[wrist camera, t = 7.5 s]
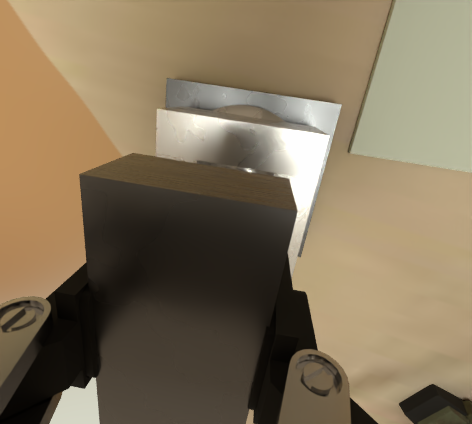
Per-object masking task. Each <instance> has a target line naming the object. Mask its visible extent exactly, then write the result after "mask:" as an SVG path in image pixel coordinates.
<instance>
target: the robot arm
mask: <svg viewBox="0 0 472 424" xmlns="http://www.w3.org/2000/svg"><path fill="white" fill-rule="evenodd" d="M97 376H98V367H97V355H96V342H95V329H94V316H93V303H92V293H89V285H88V273H87V262H86V263H85V264H84V265H83V266H82V267H81V268H80V269H79V270H77V272H75V273H74V274H73V275H72V276H71V277H70V278H69V279H67V280H66V281H65V282H64V283H63V284H62V285H61V286H60V287H58V288H57V289H56V290H55V291H54V292H53V293H52V294H51V295H49V297H47V298H46V299H43V298H41V297H34V296H32V297H21V298H17V299H13V300H10V301H7V302H5V303H2V304H1V305H0V424H49V423H50V421H51V418H52V416H53V414H54V412H55V410H56V407H57V405H58V403H59V401H60V399H61V395H62V392H63V391H64V390H66V389H68V388H69V387H70V386H74V387H79V388H85V387H86V386H87V384H88V383H89V381H90V380H91V378H92V377H94V378H96V377H97ZM248 409H251V410H254V419H253V423H254V424H378V423H377V422H376V421H375V420H374V419H373V418H372V417H370V416H369V415H368V414H367V413H366V412H365V411H364V410H363V409H362V408H361V407H360V406H359V405H358V404H356V403H355V402H354V401H353V400H352V399H351V398H350V390H349V382H348V377H347V375H346V374H345V372H344V370H343V368H342V367H341V366H340V365H339V364H338V363H337V361H335V360H334V359H333V358H331V357H330V356H329V355H327V354H325V353H323V352H321V351H318V349H317V344H316V339H315V334H314V329H313V324H312V319H311V314H310V309H309V304H308V299H307V295H306V293H305V292H303V291H297V290H293V287H292V280H291V272H290V264H289V257H288V253H287V257H286V261H285V265H284V269H283V274H282V278H281V282H280V286H279V290H278V294H277V298H276V302H275V306H274V310H273V314H272V318H271V322H270V327H266V331H265V335H264V339H263V344H262V348H261V352H260V356H259V360H258V364H257V369H256V373H255V377H254V381H253V385H252V389H251V394H250V398H249V402H248Z"/></svg>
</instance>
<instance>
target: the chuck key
mask: <svg viewBox="0 0 472 424" xmlns="http://www.w3.org/2000/svg"><path fill="white" fill-rule="evenodd" d="M80 188H81V200H82V212H83V225H84V236H85V249H86V261H87V273H88V285H89V293H92V303H93V316H94V329H95V342H96V355H97V367H98V376H97V377H96V382H97V395H98V406H99V419H100V424H246V420H247V416H248V412H249V409H248V402H249V398H250V394H251V389H252V385H253V381H254V377H255V373H256V369H257V364H258V360H259V356H260V352H261V348H262V344H263V339H264V335H265V331H266V327H270V322H271V318H272V314H273V310H274V306H275V302H276V298H277V294H278V290H279V286H280V282H281V278H282V274H283V269H284V265H285V261H286V257H287V253H288V249H289V245H290V241H291V237H292V233H293V229H294V225H295V221H296V216H297V212H298V210H297V206H296V203H295V199H294V195H293V191H292V188H291V184H290V180H289V178H283V177H277V176H271V175H264V174H258V173H252V172H246V171H240V170H234V169H228V168H222V167H216V166H210V165H203V164H197V163H191V162H185V161H179V160H173V159H167V158H161V157H155V156H149V155H142V154H136V153H132V154H129V155H127V156H124V157H122V158H119V159H116V160H114V161H111V162H109V163H107V164H104V165H101V166H99V167H96V168H94V169H91V170H89V171H86V172H84V173H81V174H80Z"/></svg>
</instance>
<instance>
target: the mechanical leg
mask: <svg viewBox="0 0 472 424" xmlns="http://www.w3.org/2000/svg"><path fill="white" fill-rule="evenodd" d="M399 406H400V407H401V409H402V410H403V412H404V414H405V415H406V416H407V417H408V418H409V419H410V420H411V421H412V422H413V423H414V424H472V402H471V401H469V400H467V401H462V399H460V398H458V397H456V396H454V395H452V394H450V393H449V392H447V391H445V390H443V389H441V388H439V387H437V386H435V385H430V386H428V387H426V388H424V389H423V390H421V391H419V392H418V393H416V394H414V395H413V396H411V397H409V398H408V399H406V400H404V401H403V402H401V403H400V404H399Z"/></svg>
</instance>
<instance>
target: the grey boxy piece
mask: <svg viewBox="0 0 472 424" xmlns="http://www.w3.org/2000/svg"><path fill="white" fill-rule="evenodd" d="M328 139H329V135H328V134H326V133H324V132H323V131H321V130H320V129H318V128H316V127H314V126H307V125H301V124H294V123H288V122H285V121H284V120H283V119H281V118H280V117H279V116H277V115H275V114H273V113H272V112H270V111H267V110H265V109H262V108H259V107H254V106H249V105H231V106H226V107H221V108H218V109H215V110H212V111H210V110H204V109H197V108H191V107H185V106H179V107H169V108H158V109H157V125H156V157H161V158H167V159H173V160H179V161H185V162H191V163H197V164H203V165H210V166H216V167H222V168H228V169H234V170H240V171H246V172H252V173H258V174H264V175H271V176H277V177H283V178H289V180H290V184H291V188H292V191H293V195H294V199H295V203H296V206H297V210H298V212H297V216H296V221H295V225H294V229H293V233H292V237H291V241H290V245H289V249H288V257H289V264H290V272H291V279H292V275H293V272H294V268H295V264H296V260H297V256H298V253H299V249H300V245H301V241H302V238H303V234H304V230H305V226H306V222H307V219H308V215H309V211H310V207H311V203H312V200H313V196H314V192H315V188H316V185H317V181H318V177H319V173H320V169H321V166H322V162H323V158H324V154H325V151H326V147H327V143H328Z"/></svg>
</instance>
